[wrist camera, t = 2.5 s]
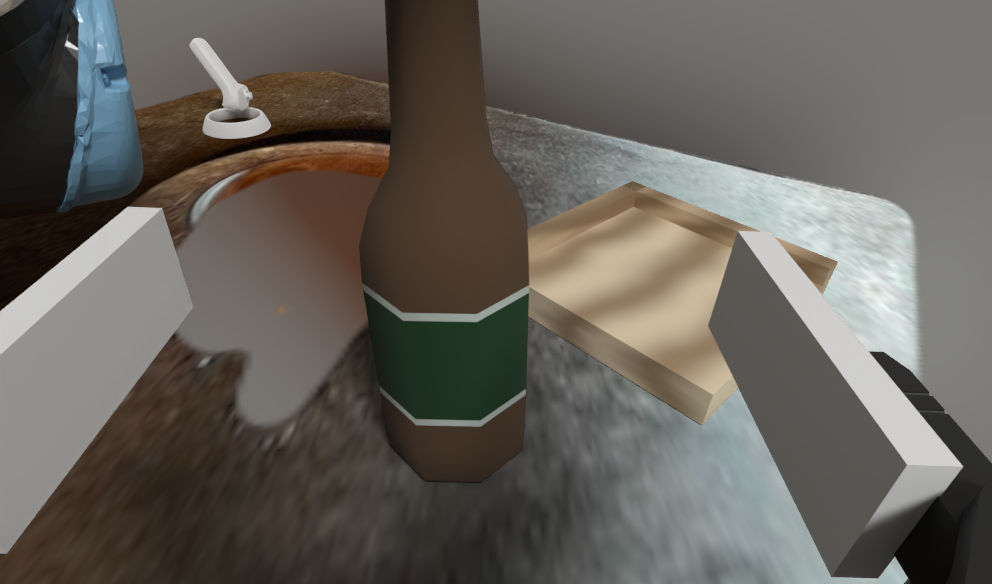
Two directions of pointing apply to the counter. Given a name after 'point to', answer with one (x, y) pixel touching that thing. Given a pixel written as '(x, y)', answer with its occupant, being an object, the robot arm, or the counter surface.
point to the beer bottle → (446, 256)
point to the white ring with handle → (228, 100)
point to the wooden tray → (644, 290)
